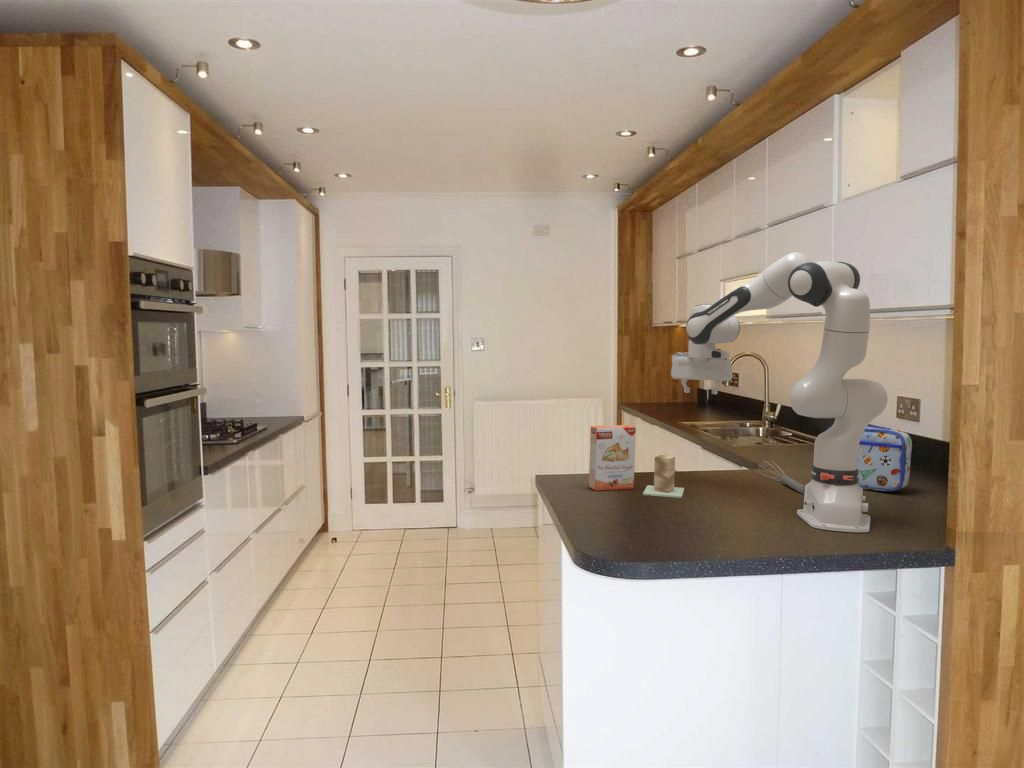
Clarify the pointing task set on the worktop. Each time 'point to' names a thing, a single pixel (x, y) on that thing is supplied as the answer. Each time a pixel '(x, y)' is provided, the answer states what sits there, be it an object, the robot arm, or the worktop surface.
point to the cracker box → (612, 457)
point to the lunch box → (884, 459)
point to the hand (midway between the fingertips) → (700, 393)
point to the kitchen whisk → (787, 480)
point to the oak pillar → (664, 473)
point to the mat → (675, 493)
